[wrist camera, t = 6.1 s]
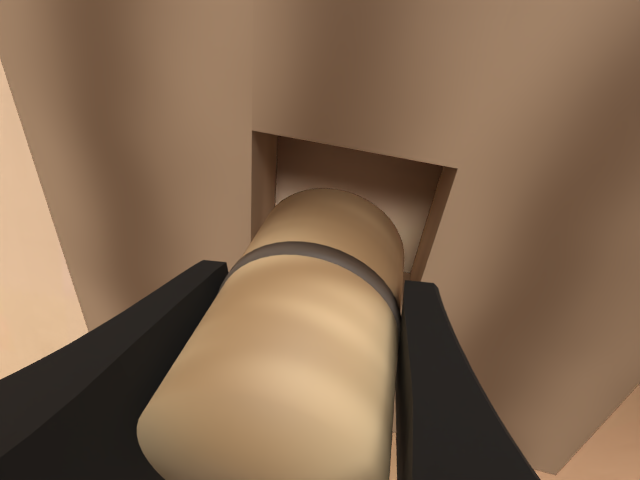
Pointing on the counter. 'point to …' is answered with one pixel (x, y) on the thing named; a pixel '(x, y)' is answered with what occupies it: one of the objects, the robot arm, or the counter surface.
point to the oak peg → (290, 354)
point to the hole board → (371, 136)
